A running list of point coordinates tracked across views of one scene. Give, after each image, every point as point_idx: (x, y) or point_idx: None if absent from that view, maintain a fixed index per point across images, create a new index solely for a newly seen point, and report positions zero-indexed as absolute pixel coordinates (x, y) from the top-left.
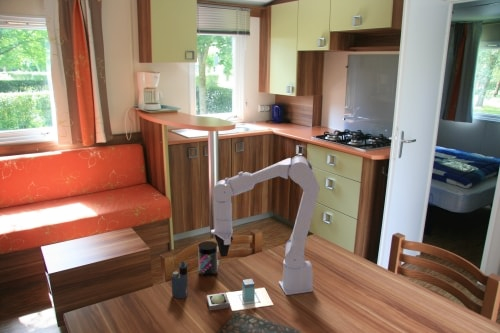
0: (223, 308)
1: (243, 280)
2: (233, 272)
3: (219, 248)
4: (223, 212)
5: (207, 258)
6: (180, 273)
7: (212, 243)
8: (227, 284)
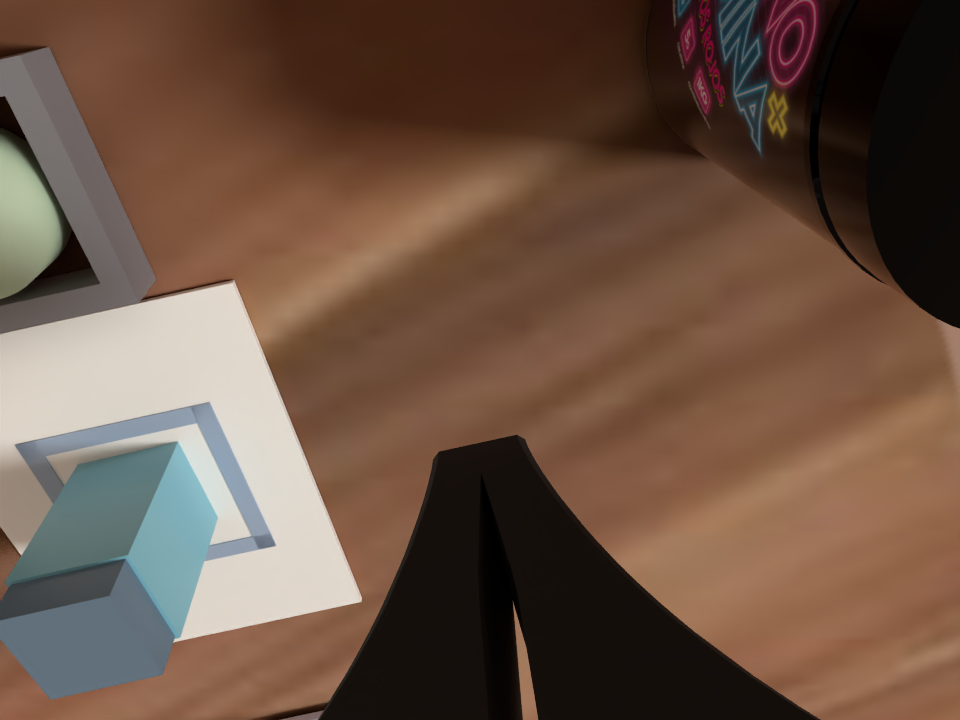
0: None
1: (98, 603)
2: (687, 341)
3: (383, 612)
4: None
5: (760, 68)
6: None
7: None
8: (430, 288)
